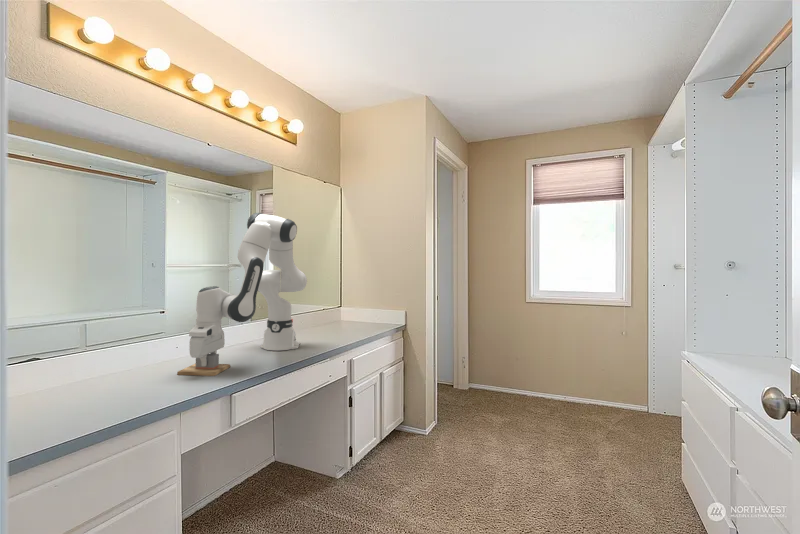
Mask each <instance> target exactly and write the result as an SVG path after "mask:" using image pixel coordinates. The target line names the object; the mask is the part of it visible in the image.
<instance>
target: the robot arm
mask: <svg viewBox="0 0 800 534" xmlns="http://www.w3.org/2000/svg"><path fill="white" fill-rule="evenodd" d="M246 228H247V230H246V232H245V234H244V236H243V237H242V240H241V243H240V245H239V247H238V248H239V249H238V252H237V259H238V261H239V264H241V265H242V267H243V269H244V277H243V280H242V283H241V286H240V289H239V291H238V292H239V293H237V294H235V293H234V294H233V293H231V292H228V291H226V290H224V289H223V288H221V287H220V286H217V285H216V286H215V285H214V286H206V287H203V288H201V289H199V291H198V293H197V295H196V296H197V297H196V306H195V307H196V313H197V314H196V315H197V317H196V319H195V325H194V326H193V327H192V328H191V329H190V330H189V332H188V336H189V337H190V339H189V355H190V357H191V358H193V359H194V358H195V359H196V358H200V360H201V366H207V365H208V361H207V359H206V357H207V354H218V353H217V351H218V350H221V349H223V348H224V347H225V341H226V340H225V332H224V330H223V328H222V319H223V318H227V319H229V320H234V321H235V322H238V323H245V322H247V321H249V320H250V319H252V317H254V315H255V313H256V309H257V304H256V303H257V294H258V292H259V293H260V294H261V295H262V296H263V298H264V299H265V301H266V303H267V321H266V327H267V328H266V329H265V330H264V332H263V341H262V343H263V344H261V345H260V349H264V350H265V351H267V350H268V351H287V350H295V349H299V348H300V347H299V346H300V345H299V344H301V341H300V340H297V336H296V335H297V333H296V331H295V330H294V328H293V321H294V319H293V318H292V304H291V302H290V301H288V300H287V299H285V298H282V297H281V296H280V295H279V293H295V292H301V291H304V289H305V288H306V287H307V284H308V283H307V282H308V279H307V278H308V277H307V275H306V274H305V272H303V271H302V270H300V269H299V268H298V266H297V265H296V264H295V262H294V251H293V250H294V240H295V239H296V237H297V232H298V226H297V224H296V223H295V221H293V220H292V219H289V218H284V217H281V216H279V215H273V214H266V213H262V212H254V213H252V214H251V215H250V216H249V218H248V219H247V222H246ZM267 255H268V260H269V262H270V263H271V264H272V265H273V266H274V267H276V268H278V269H265V270H264V266H265V264H264V263H265V261H266V258H267Z"/></svg>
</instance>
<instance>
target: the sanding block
mask: <svg viewBox="0 0 800 534" xmlns="http://www.w3.org/2000/svg"><path fill="white" fill-rule="evenodd" d="M219 356H220V354H219V353H216V354H210V353H209V354H207V357H206V359H207V361H208V365H207V366H201V360H200V358H195V363H196V369H215V368H217V367H219V364H220V363H219V362H220V361H219V360H220V359H219V358H220V357H219Z"/></svg>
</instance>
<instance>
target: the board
mask: <svg viewBox="0 0 800 534" xmlns="http://www.w3.org/2000/svg"><path fill="white" fill-rule="evenodd" d="M230 368H231V364H230V363H219V367H217V368H215V369H196V362H195V363H194V364H192V365H189V366H187V367H185V368H182V369H180V370H178V371H177V374H176V375H178V376H202V377H203V376H205V377H206V376H207V377H210V376H211V377H215V376H217V375H219V374H220V373H222V372H224V371H226V370H228V369H230Z"/></svg>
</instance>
